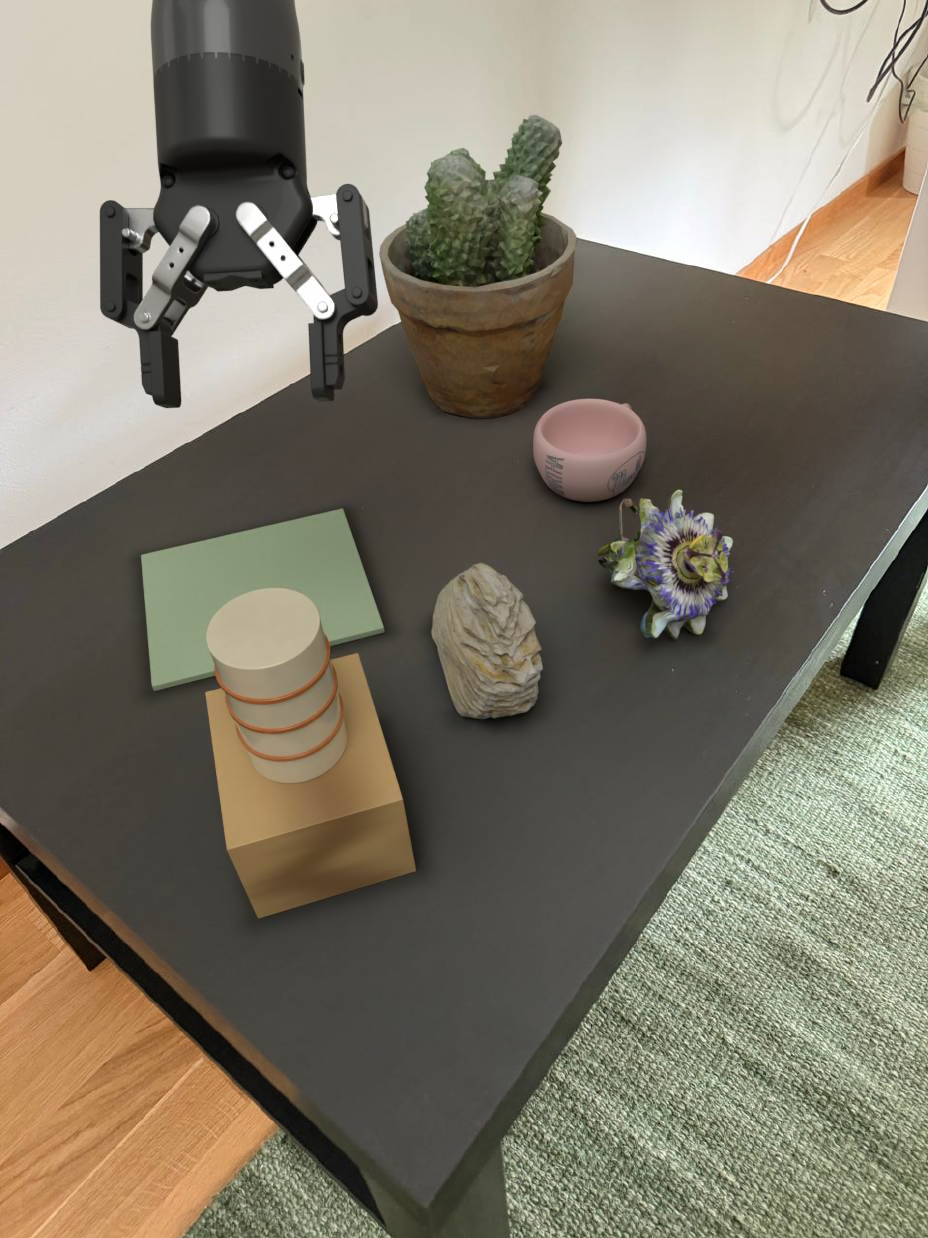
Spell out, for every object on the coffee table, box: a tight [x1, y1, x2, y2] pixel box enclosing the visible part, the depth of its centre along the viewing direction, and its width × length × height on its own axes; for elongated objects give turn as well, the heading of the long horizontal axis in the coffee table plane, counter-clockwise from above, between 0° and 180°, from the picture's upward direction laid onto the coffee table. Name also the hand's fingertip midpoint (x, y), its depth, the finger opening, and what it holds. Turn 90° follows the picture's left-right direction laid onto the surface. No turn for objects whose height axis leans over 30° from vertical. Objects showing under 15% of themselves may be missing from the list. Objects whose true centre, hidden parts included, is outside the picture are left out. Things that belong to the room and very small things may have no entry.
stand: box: [204, 652, 417, 920], centre depth 59 cm, size 10×12×8 cm
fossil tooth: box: [431, 562, 544, 720], centre depth 66 cm, size 12×6×15 cm
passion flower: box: [596, 489, 736, 641], centre depth 71 cm, size 11×11×12 cm
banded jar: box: [206, 588, 348, 783], centre depth 52 cm, size 6×6×10 cm
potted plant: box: [378, 114, 578, 419], centre depth 88 cm, size 18×19×25 cm
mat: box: [140, 508, 386, 692], centre depth 77 cm, size 18×16×1 cm
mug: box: [532, 398, 647, 503], centre depth 84 cm, size 12×10×6 cm
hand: (245, 402), depth 49 cm, fingers open, 8 cm apart
